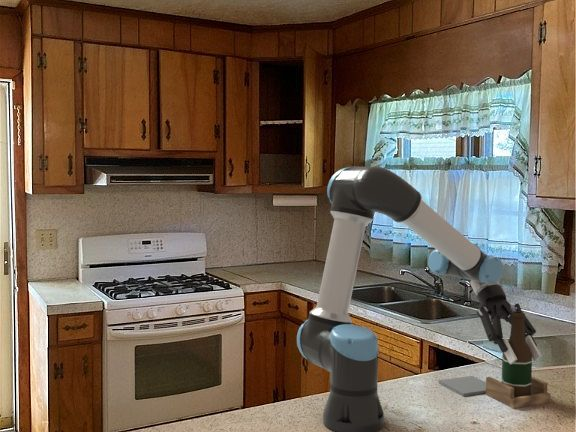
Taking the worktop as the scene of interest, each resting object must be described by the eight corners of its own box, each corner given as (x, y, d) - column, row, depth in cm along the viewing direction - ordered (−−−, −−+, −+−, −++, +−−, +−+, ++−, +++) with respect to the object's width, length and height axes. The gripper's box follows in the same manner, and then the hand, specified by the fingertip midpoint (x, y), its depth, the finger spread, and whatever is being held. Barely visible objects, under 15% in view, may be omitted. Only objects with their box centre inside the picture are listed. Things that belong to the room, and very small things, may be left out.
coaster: (463, 396, 175) (463, 393, 175) (438, 382, 186) (438, 380, 186) (498, 391, 179) (498, 388, 179) (472, 378, 190) (472, 375, 190)
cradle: (513, 408, 166) (513, 389, 166) (485, 394, 177) (486, 377, 176) (550, 402, 170) (550, 384, 170) (521, 389, 181) (521, 372, 181)
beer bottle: (512, 404, 169) (514, 316, 168) (495, 394, 177) (497, 310, 175) (537, 401, 171) (539, 314, 170) (519, 391, 179) (521, 308, 177)
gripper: (510, 295, 190) (548, 363, 176) (453, 300, 183) (488, 371, 169) (522, 281, 185) (563, 349, 171) (465, 285, 178) (502, 357, 164)
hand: (525, 360), depth 170 cm, fingers closed on beer bottle, 7 cm apart
